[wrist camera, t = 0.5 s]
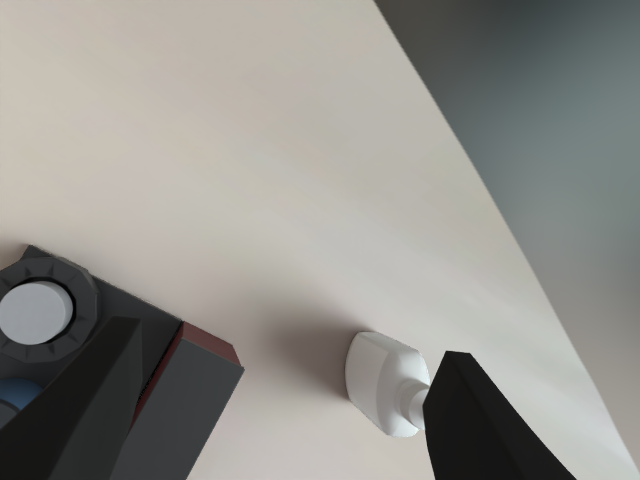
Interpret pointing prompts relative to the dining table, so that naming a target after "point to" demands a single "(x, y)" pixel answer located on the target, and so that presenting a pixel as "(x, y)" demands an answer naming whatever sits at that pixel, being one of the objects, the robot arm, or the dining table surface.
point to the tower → (179, 407)
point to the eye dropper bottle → (387, 383)
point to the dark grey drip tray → (77, 319)
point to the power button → (35, 312)
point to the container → (15, 397)
